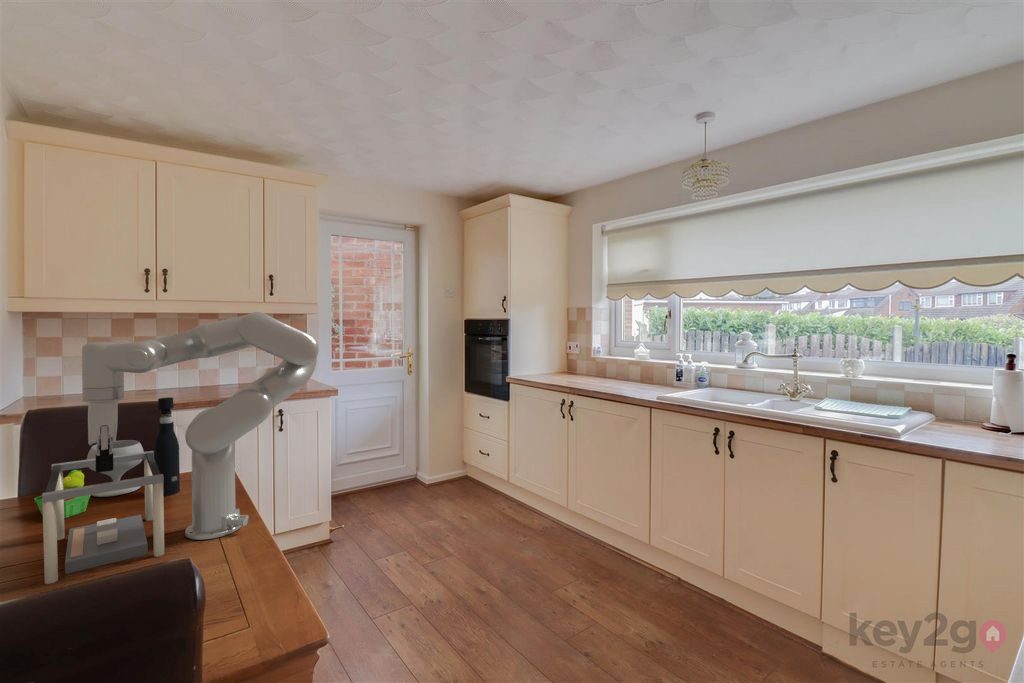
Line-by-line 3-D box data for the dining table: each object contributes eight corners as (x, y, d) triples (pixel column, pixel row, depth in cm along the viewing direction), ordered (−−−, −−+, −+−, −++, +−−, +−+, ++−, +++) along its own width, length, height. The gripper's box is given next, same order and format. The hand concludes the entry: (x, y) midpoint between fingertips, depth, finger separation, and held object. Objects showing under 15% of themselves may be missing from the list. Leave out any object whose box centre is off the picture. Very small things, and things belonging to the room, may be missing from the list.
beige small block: (97, 528, 117) (97, 521, 117) (116, 524, 119) (116, 517, 119) (97, 533, 116) (97, 526, 115) (116, 529, 118) (116, 522, 118)
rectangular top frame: (52, 470, 118) (51, 463, 118) (152, 456, 131) (152, 450, 131) (42, 503, 97) (41, 495, 97) (163, 482, 110) (163, 475, 110)
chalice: (112, 501, 144) (111, 451, 143) (75, 497, 146) (73, 448, 146) (155, 485, 157) (154, 440, 157) (120, 482, 160) (119, 438, 160)
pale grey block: (97, 539, 111) (96, 532, 111) (117, 535, 113) (117, 528, 113) (97, 545, 110) (97, 537, 109) (117, 540, 112) (117, 533, 112)
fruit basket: (32, 516, 132) (31, 476, 131) (68, 504, 140) (67, 466, 140) (63, 520, 129) (62, 479, 129) (98, 508, 138) (97, 469, 137)
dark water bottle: (159, 490, 153) (157, 397, 152) (182, 488, 155) (181, 396, 154) (151, 497, 147) (149, 400, 146) (175, 495, 149) (173, 399, 147)
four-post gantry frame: (53, 538, 119) (52, 470, 118) (154, 517, 132) (152, 456, 131) (44, 585, 98) (42, 503, 97) (164, 554, 111) (163, 482, 110)
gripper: (83, 391, 117) (84, 466, 117) (81, 399, 105) (82, 482, 106) (122, 389, 121) (123, 461, 122) (125, 396, 110) (126, 475, 111)
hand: (104, 470), depth 114 cm, fingers closed
